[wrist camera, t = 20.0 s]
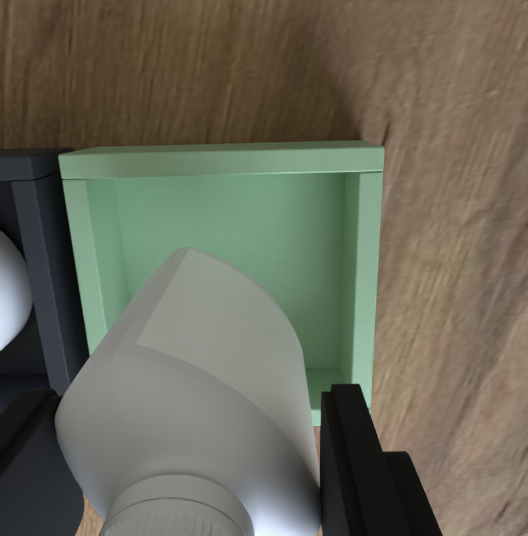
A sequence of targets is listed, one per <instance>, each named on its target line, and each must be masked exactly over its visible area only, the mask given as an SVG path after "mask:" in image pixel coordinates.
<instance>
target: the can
mask: <svg viewBox="0 0 528 536" xmlns="http://www.w3.org/2000/svg"><path fill="white" fill-rule="evenodd" d="M32 304H33V296H32V291H31V285H30V280H29V275H28V270H27V264H26V262H25V260H24V258H23V257H22V255H21V253H20V252H19V250H18V249H17V247H16V246H15V245H14V244H13V242H12V241H11V240H10V239H9V238H8V237H7V236H6V235H5V234H4V233H3V232H2V231H1V230H0V351H1V350H2V349H3V348H4V347H5V346H6V345H7V344H8V343H10V342H11V341H12V340H13V339H14V338H15V337H16V336H17V335H18V333H19V332H20V331H21V330H22V329H23V327H24V326H25V324H26V322H27V320H28V318H29V316H30V313H31V309H32Z"/></svg>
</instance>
